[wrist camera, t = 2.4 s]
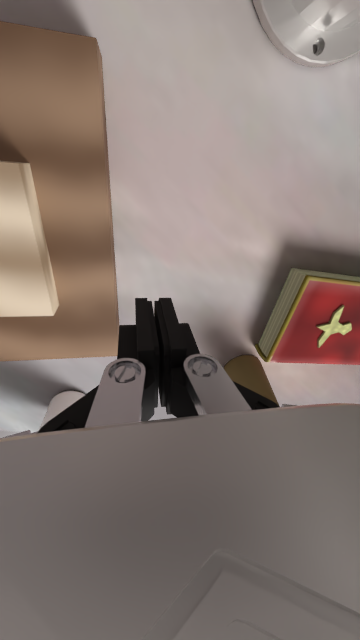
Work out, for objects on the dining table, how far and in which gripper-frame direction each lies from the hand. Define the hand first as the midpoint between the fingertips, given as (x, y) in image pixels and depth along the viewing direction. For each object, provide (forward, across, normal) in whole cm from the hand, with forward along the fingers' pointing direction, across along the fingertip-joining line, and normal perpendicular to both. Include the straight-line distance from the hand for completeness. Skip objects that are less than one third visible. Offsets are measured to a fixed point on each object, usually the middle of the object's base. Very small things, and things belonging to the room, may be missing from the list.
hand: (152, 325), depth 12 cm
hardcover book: (+15, -26, +8) cm, 32 cm away
